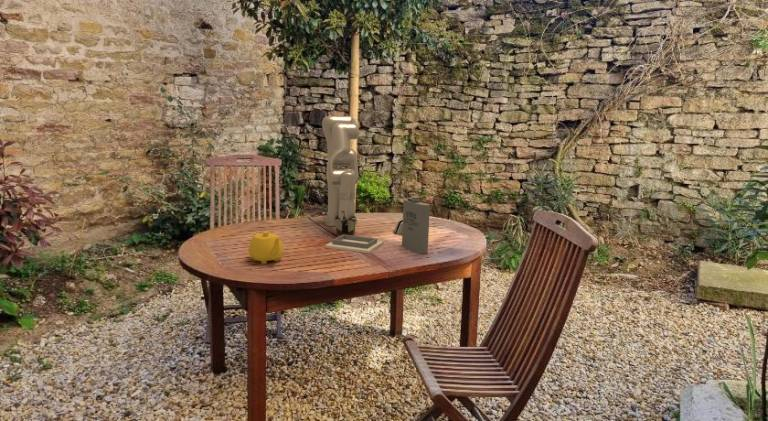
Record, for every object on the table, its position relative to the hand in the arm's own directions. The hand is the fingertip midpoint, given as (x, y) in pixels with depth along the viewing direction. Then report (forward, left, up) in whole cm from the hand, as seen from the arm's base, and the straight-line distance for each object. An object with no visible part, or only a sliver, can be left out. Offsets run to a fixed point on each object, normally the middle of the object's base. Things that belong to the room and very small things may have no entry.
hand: (347, 231), depth 256 cm
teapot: (-11, -55, -2) cm, 56 cm away
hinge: (+26, +21, -3) cm, 34 cm away
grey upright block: (+39, -10, -2) cm, 40 cm away
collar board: (+12, -17, -2) cm, 20 cm away
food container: (0, +1, -2) cm, 3 cm away
